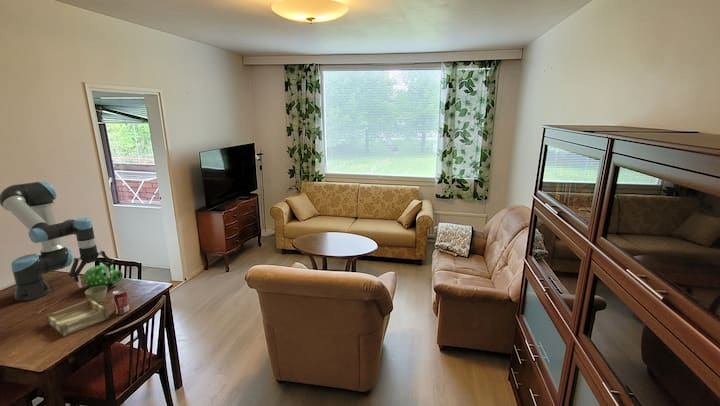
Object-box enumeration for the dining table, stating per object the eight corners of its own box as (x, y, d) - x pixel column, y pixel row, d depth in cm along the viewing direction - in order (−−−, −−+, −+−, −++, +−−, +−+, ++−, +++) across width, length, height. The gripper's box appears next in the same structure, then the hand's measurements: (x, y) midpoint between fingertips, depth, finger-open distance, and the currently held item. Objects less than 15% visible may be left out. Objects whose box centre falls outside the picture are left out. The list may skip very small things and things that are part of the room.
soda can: (132, 309, 187) (129, 289, 184) (120, 316, 180) (116, 295, 177) (123, 307, 189) (120, 287, 186) (111, 313, 182) (107, 293, 180)
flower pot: (97, 307, 189) (95, 295, 187) (82, 304, 191) (80, 293, 189) (113, 297, 198) (111, 286, 197) (99, 296, 200) (96, 284, 198)
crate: (48, 324, 173) (46, 314, 171) (92, 307, 188) (90, 298, 187) (63, 336, 163) (61, 326, 162) (108, 317, 179) (107, 308, 178)
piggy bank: (110, 292, 204) (106, 269, 201) (80, 291, 204) (75, 268, 201) (126, 281, 218) (122, 259, 215) (98, 280, 218) (94, 259, 215)
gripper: (61, 255, 174) (70, 292, 179) (116, 240, 195) (122, 275, 200) (55, 252, 178) (64, 289, 183) (110, 238, 199) (116, 272, 204)
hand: (94, 281), depth 191 cm, fingers open, 13 cm apart
